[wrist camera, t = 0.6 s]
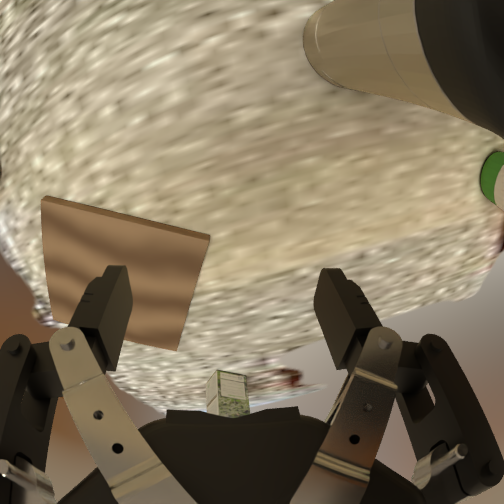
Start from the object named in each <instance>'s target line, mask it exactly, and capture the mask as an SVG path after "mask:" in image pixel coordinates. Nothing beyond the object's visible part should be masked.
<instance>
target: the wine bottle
mask: <svg viewBox="0 0 504 504" xmlns="http://www.w3.org/2000/svg"><path fill="white" fill-rule="evenodd" d="M481 188H482V191H483V193H484V195H485V196H486V197H487V198H488V199H489V200H490V201H491V202H493V203H494V204H495V205H497V206H498V207H499V208H500V209H501V210H503V211H504V152H496V153H493V154H492V155H491V156H490V157H489V158H488V159H487V160H486V162H485V164H484V167H483V169H482V174H481Z"/></svg>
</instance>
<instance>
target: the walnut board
mask: <svg viewBox="0 0 504 504" xmlns="http://www.w3.org/2000/svg"><path fill="white" fill-rule="evenodd" d="M41 224H42V241H43V253H44V263H45V272H46V280H47V287H48V293H49V299H50V305H51V310H52V315H53V320H56V321H59V322H63V323H66V324H69V323H70V320H71V318H72V316H73V314H74V312H75V310H76V308H77V306H78V303H79V302H80V299H81V297H82V295H84V291H85V289H86V287H87V286H88V284H89V283H90V282H91V281H92V280H93V279H95V278H96V277H102V275H103V273H104V271H105V269H106V267H107V266H108V265H125V266H126V267H127V270H128V276H129V281H130V286H131V291H132V296H133V307H132V312H131V315H130V318H129V322H128V325H127V329H126V333H125V336H124V340H127V341H131V342H135V343H140V344H144V345H149V346H153V347H158V348H163V349H168V350H173V351H177V348H178V344H179V340H180V337H181V333H182V330H183V326H184V323H185V319H186V316H187V312H188V309H189V305H190V302H191V299H192V295H193V292H194V289H195V285H196V282H197V279H198V276H199V272H200V269H201V266H202V263H203V260H204V256H205V253H206V250H207V247H208V244H209V239H210V235H207V234H203V233H198V232H194V231H190V230H186V229H182V228H178V227H174V226H170V225H166V224H162V223H158V222H154V221H150V220H146V219H141V218H137V217H133V216H129V215H125V214H121V213H117V212H113V211H108V210H104V209H100V208H96V207H92V206H88V205H84V204H79V203H75V202H71V201H67V200H63V199H58V198H54V197H50V196H45V197H44V198H43V199H41Z"/></svg>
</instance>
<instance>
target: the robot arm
mask: <svg viewBox="0 0 504 504" xmlns="http://www.w3.org/2000/svg"><path fill="white" fill-rule="evenodd" d="M303 45H304V50H305V53H306V56H307V58H308V60H309V62H310V64H311V65H312V67H313V68H314V69H315V70H316V72H317V73H318V74H319V75H321V76H322V77H323V78H324V79H325V80H327V81H329V82H330V83H332V84H334V85H337V86H339V87H342V88H347V89H351V90H355V91H363V92H368V93H372V94H377V95H382V96H386V97H390V98H394V99H398V100H402V101H406V102H410V103H413V104H417V105H420V106H424V107H427V108H430V109H433V110H436V111H439V112H443V113H446V114H449V115H451V116H454V117H457V118H460V119H462V120H465V121H468V122H470V123H473V124H475V125H478V126H481V127H483V128H485V129H488V130H490V131H492V132H494V133H495V134H497V135H499V136H500V137H502V138H503V139H504V0H334V1H333V2H331V3H329V4H327V5H326V6H324V7H322V8H321V9H319V10H318V11H316V12H315V13H314V14H313V15H312V16H311V17H310V19H309V20H308V22H307V24H306V26H305V28H304V34H303ZM132 307H133V296H132V291H131V286H130V281H129V276H128V270H127V267H126V266H125V265H108V266H107V267H106V269H105V271H104V273H103V275H102V277H96V278H95V279H93V280H92V281H91V282H90V283H89V284H88V286H87V287H86V289H85V291H84V295H82V297H81V299H80V302H79V303H78V306H77V308H76V310H75V312H74V314H73V316H72V318H71V320H70V323H69V325H68V327H65V328H62V329H60V330H58V331H57V332H55V333H54V335H53V336H52V337H51V339H50V341H49V342H43V343H37V344H31V342H30V340H29V339H28V337H26V336H25V335H22V334H17V335H13V336H11V337H9V338H8V339H7V340H6V341H5V342H4V343H3V345H2V347H1V349H0V504H459V503H461V502H464V501H466V500H467V499H470V498H472V497H474V496H476V495H478V494H480V493H482V492H484V491H486V490H488V489H490V488H491V487H493V486H495V485H497V484H498V483H499V482H500V480H501V479H502V477H503V475H504V460H503V457H502V454H501V452H500V449H499V447H498V444H497V442H496V439H495V437H494V434H493V432H492V430H491V427H490V425H489V423H488V421H487V418H486V416H485V414H484V412H483V410H482V408H481V406H480V403H479V402H478V399H477V397H476V395H475V393H474V392H473V389H472V387H471V386H470V384H469V382H468V380H467V378H466V376H465V374H464V372H463V370H462V369H461V367H460V365H459V363H458V361H457V360H456V358H455V356H454V354H453V353H452V351H451V349H450V347H449V346H448V344H447V343H446V341H445V340H444V339H442V338H441V337H439V336H437V335H435V334H426V335H424V336H423V337H422V338H421V340H420V342H419V343H414V342H408V341H402V339H401V337H400V336H399V335H398V334H397V333H396V332H395V331H394V330H392V329H390V328H387V327H383V326H382V324H381V322H380V321H379V319H378V317H377V315H376V314H375V312H374V310H373V308H372V307H371V305H370V304H369V302H368V300H367V298H366V297H365V295H364V293H363V292H362V290H361V288H360V287H359V286H358V285H357V284H356V283H354V282H353V281H352V280H347V278H346V277H345V275H344V273H343V271H342V270H341V269H340V268H323V269H322V270H321V272H320V276H319V280H318V284H317V288H316V292H315V295H314V310H315V313H316V316H317V318H318V321H319V324H320V326H321V329H322V332H323V334H324V337H325V340H326V342H327V345H328V348H329V350H330V353H331V356H332V359H333V361H334V364H335V367H336V369H337V370H341V369H347V371H348V375H347V377H346V379H345V381H344V383H343V385H342V388H341V390H340V392H339V394H338V396H337V398H336V400H335V403H334V404H333V407H332V409H331V411H330V412H329V414H328V416H327V418H326V419H325V421H324V422H323V421H321V420H319V419H316V418H313V417H310V416H305V415H300V413H299V409H298V406H296V407H286V408H275V409H265V410H262V411H259V412H255V413H252V414H248V415H244V416H241V417H237V418H230V417H225V416H220V415H215V414H211V413H206V412H202V411H187V410H167V413H166V418H163V419H159V420H156V421H153V422H150V423H148V424H146V425H144V426H142V427H140V428H139V429H137V428H136V426H135V425H134V423H133V422H132V420H131V419H130V417H129V416H128V414H127V413H126V411H125V409H124V408H123V406H122V405H121V403H120V402H119V400H118V398H117V396H116V395H115V393H114V391H113V390H112V388H111V386H110V384H109V383H108V381H107V379H106V377H105V373H106V370H107V371H115V372H116V367H117V363H118V359H119V355H120V351H121V347H122V344H123V340H124V336H125V333H126V329H127V325H128V322H129V318H130V315H131V312H132ZM428 383H429V385H430V387H431V390H432V392H433V394H434V396H435V406H434V403H433V401H432V399H431V396H430V394H429V392H428V390H427V388H426V385H427V384H428ZM23 395H24V396H23ZM58 397H64V399H65V402H66V404H67V406H68V409H69V411H70V413H71V415H72V418H73V420H74V422H75V424H76V426H77V429H78V431H79V433H80V434H81V437H82V439H83V440H84V442H85V444H86V446H87V448H88V450H89V452H90V454H91V456H92V457H93V459H94V461H95V463H96V464H97V466H98V467H97V468H95V469H94V470H93V471H92V472H91V473H90V474H89V475H88V476H87V477H86V478H84V479H83V480H82V481H81V482H80V483H79V484H78V485H77V486H76V487H74V488H73V489H72V490H71V491H70V492H69V493H68V494H66V495H65V496H64V497H63V498H62V499H61V500H60V501H59V502H58V503H57V502H56V500H55V498H54V490H53V486H52V483H51V480H50V479H49V477H48V476H47V475H46V474H45V467H46V459H47V452H48V446H49V440H50V434H51V429H52V423H53V419H54V414H55V409H56V404H57V400H58ZM395 398H396V401H397V403H398V406H399V409H400V411H401V415H402V417H403V420H404V422H405V426H406V429H407V432H408V435H409V437H410V441H411V443H412V446H413V450H414V453H415V456H416V459H417V463H416V465H415V468H414V474H413V476H412V482H410V481H408V480H407V479H405V478H404V477H402V476H401V475H399V474H398V473H396V472H394V471H393V470H391V469H390V468H388V467H387V466H386V465H384V464H382V463H381V462H380V461H378V460H377V459H375V457H376V455H377V452H378V449H379V447H380V444H381V441H382V438H383V435H384V432H385V429H386V426H387V423H388V420H389V417H390V413H391V410H392V406H393V403H394V399H395ZM21 402H22V403H21Z"/></svg>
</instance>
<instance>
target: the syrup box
mask: <svg viewBox="0 0 504 504" xmlns="http://www.w3.org/2000/svg"><path fill="white" fill-rule="evenodd" d="M206 399H207V413H211V414H215V415H220V416H225V417H230V418H237V417H241V416H244V415H248V414H250V408H249V399H248V390H247V381H246V376H244V375H239V374H233V373H228V372H223V371H218V370H217V371H216V372H215V373H214V374H213V376H212V377H211V378H210V380H209V381H208V382H207V384H206Z"/></svg>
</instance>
